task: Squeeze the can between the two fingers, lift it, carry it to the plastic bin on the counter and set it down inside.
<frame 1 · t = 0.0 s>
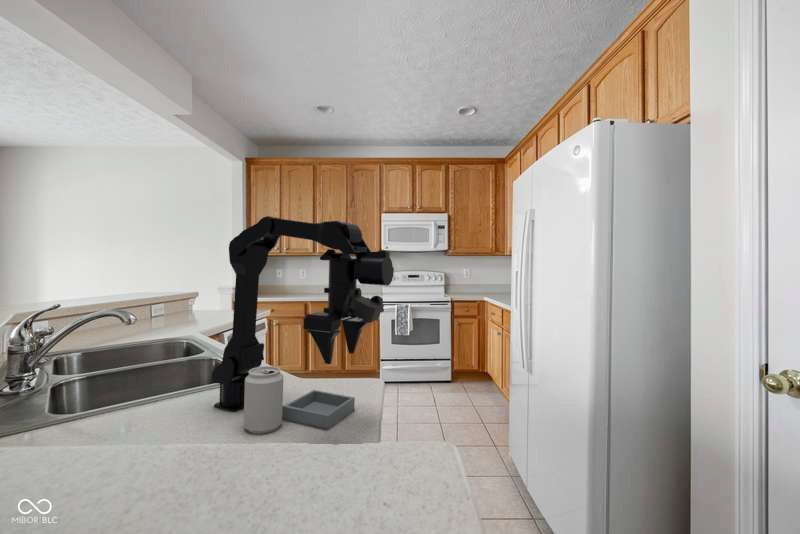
hand: (340, 358, 76), 15 cm above the table, fingers open, 9 cm apart
can: (263, 428, 76), on the table
bin: (319, 414, 83), on the table
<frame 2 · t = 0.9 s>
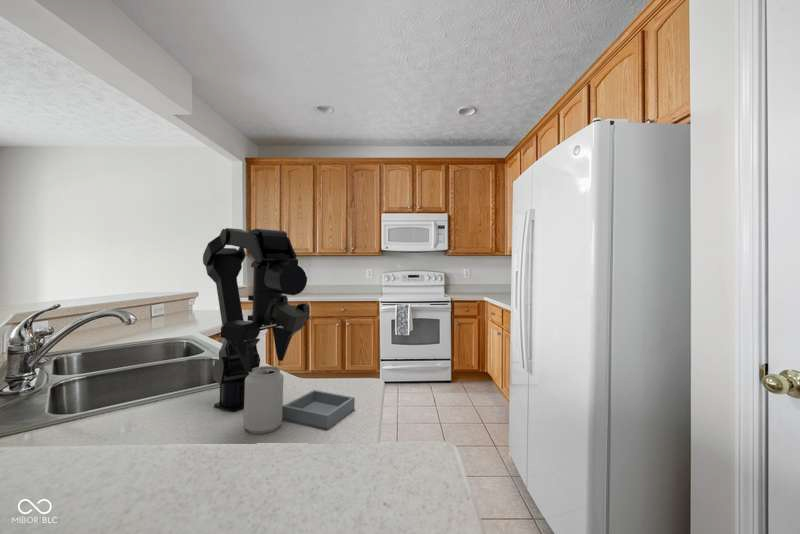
hand: (265, 365, 76), 13 cm above the table, fingers open, 9 cm apart
nothing on the table moved.
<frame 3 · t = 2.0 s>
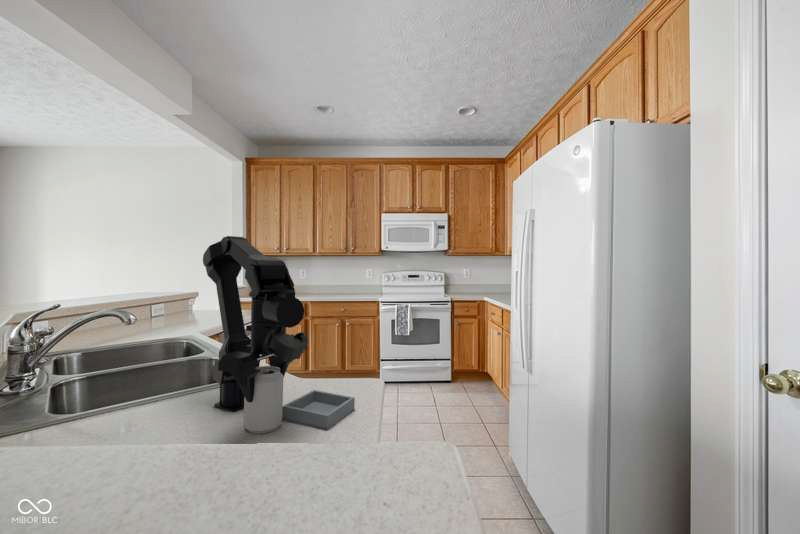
hand: (263, 395, 76), 7 cm above the table, fingers closed on can, 7 cm apart
can: (263, 427, 76), on the table, touching gripper
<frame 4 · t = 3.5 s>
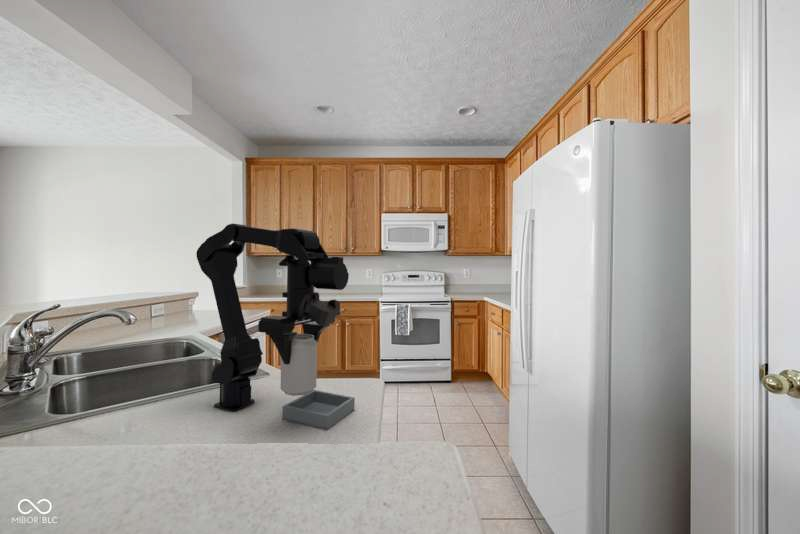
hand: (299, 359, 80), 13 cm above the table, fingers closed on can, 7 cm apart
can: (298, 391, 80), point 6 cm above the table, touching gripper
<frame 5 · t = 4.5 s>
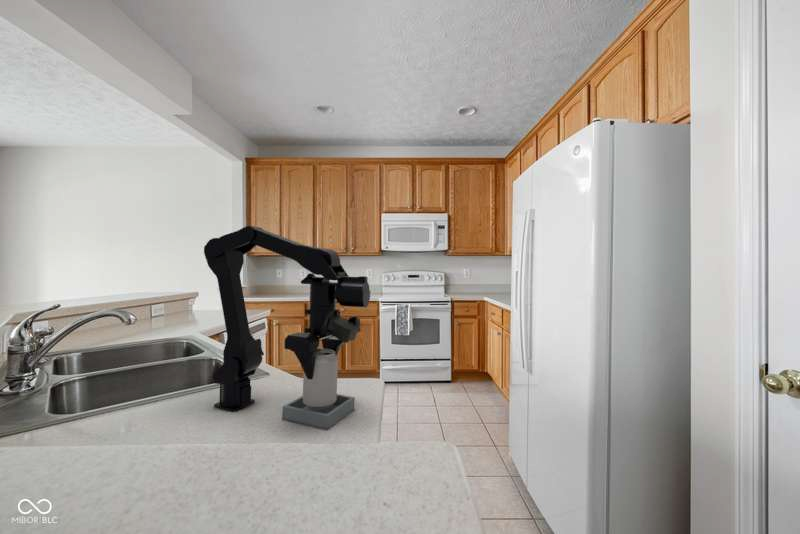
hand: (320, 374, 83), 9 cm above the table, fingers closed on can, 7 cm apart
can: (319, 404, 83), point 2 cm above the table, touching gripper
when the fingers open (8 cm above the table, at t = 5.3 s): can stays where it is, resting on bin.
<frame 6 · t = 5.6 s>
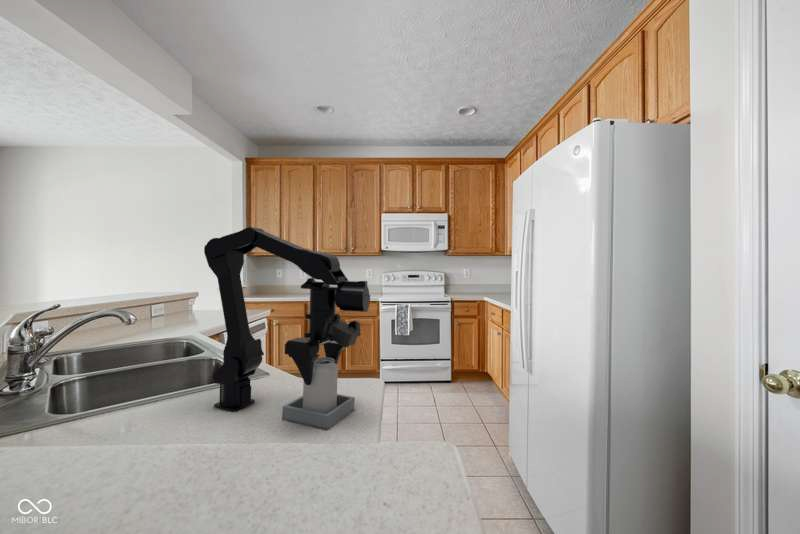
hand: (320, 378, 83), 8 cm above the table, fingers open, 9 cm apart
can: (319, 413, 83), resting on bin
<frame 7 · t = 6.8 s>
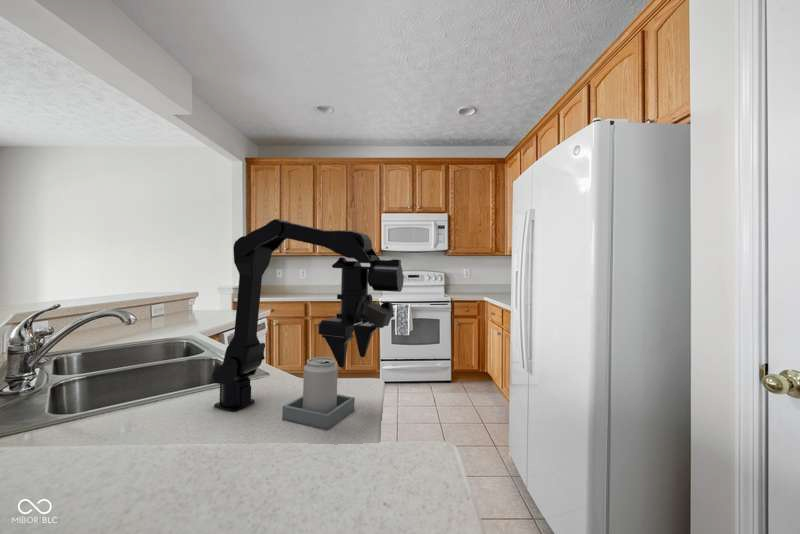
hand: (352, 361, 80), 13 cm above the table, fingers open, 9 cm apart
nothing on the table moved.
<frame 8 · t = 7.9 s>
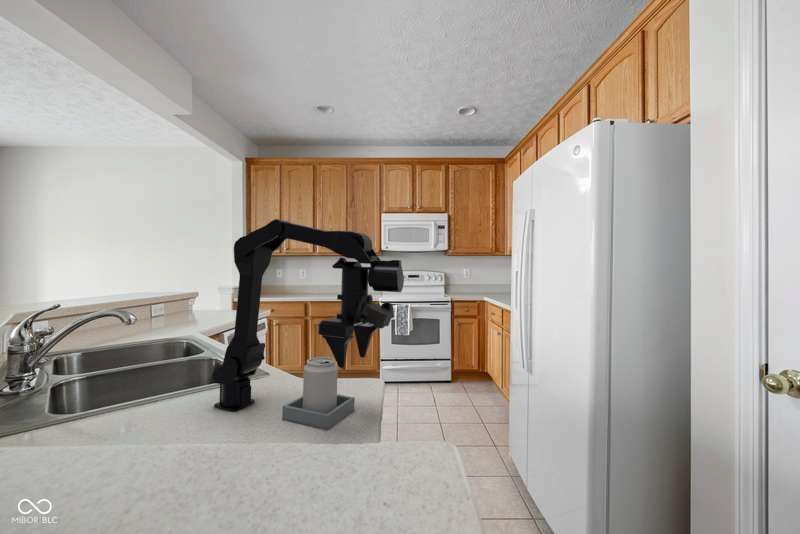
hand: (352, 362, 80), 13 cm above the table, fingers open, 9 cm apart
nothing on the table moved.
at the end: can inside the target area on the bin (0.0 cm from its centre), point 0.3 cm above the bin's base; can tilted 0°; the gripper is holding nothing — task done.
